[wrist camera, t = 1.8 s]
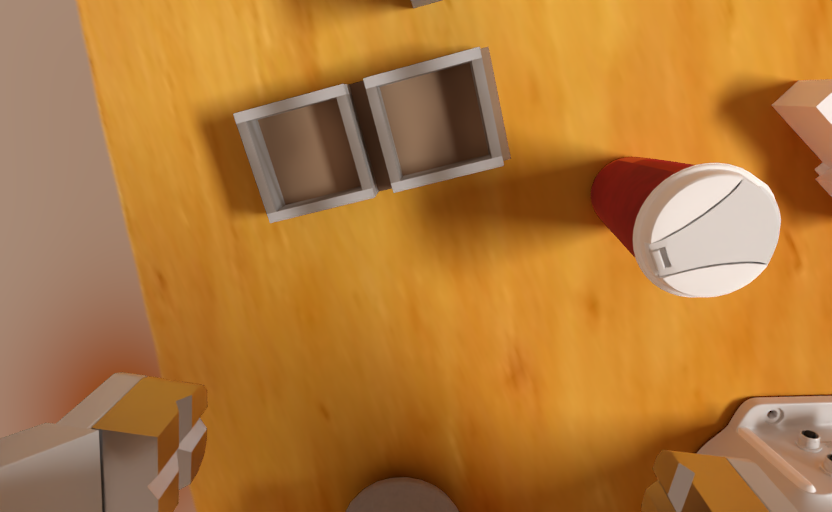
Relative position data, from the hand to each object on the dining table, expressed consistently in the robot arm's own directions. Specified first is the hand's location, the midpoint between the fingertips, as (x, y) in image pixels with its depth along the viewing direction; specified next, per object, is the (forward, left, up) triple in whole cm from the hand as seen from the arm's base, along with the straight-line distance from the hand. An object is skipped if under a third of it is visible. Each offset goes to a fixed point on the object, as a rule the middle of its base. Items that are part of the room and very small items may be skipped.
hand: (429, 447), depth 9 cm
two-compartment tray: (+4, -4, -34) cm, 34 cm away
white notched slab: (-29, +6, -34) cm, 45 cm away
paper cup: (-14, +5, -34) cm, 37 cm away
